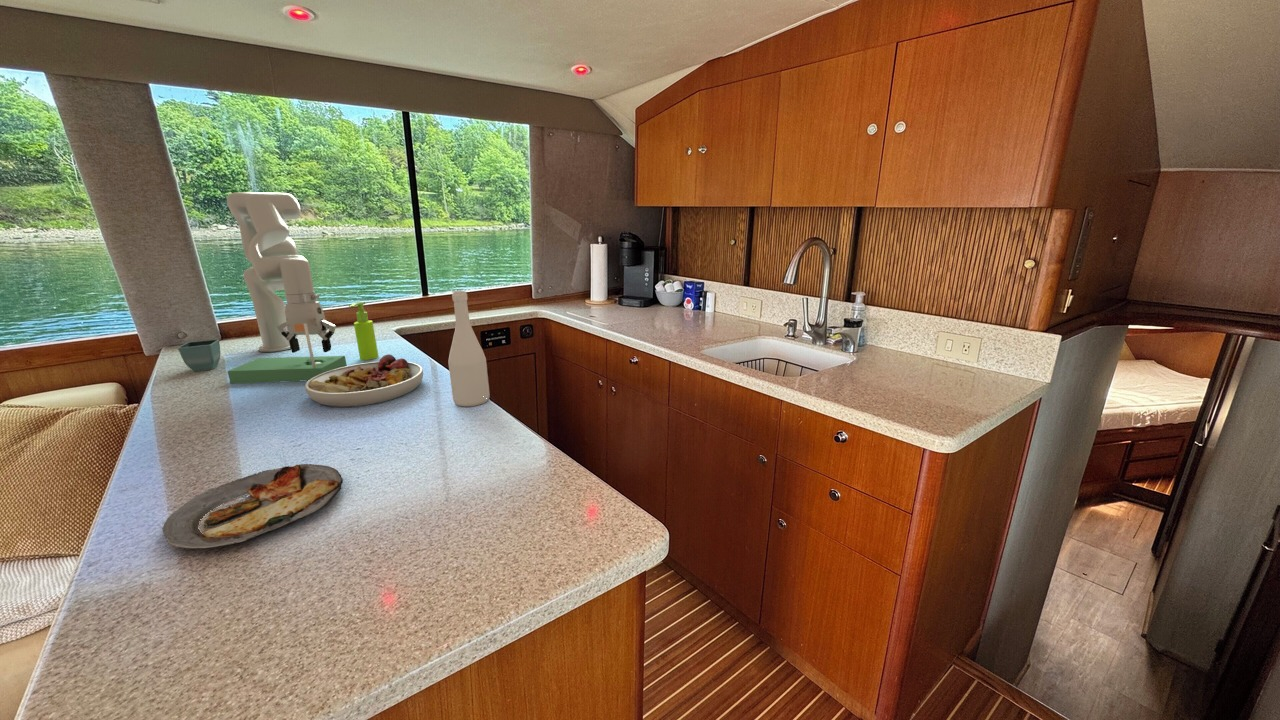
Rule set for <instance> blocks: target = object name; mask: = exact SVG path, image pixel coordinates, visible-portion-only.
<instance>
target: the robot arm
mask: <svg viewBox="0 0 1280 720" xmlns="http://www.w3.org/2000/svg"><path fill="white" fill-rule="evenodd" d="M226 203H227V206H228V210H229V211H230V212H231V214H232V216H233V218H234V219H235V221H237V224H238V226H239V232H240V236H241V242H242V248H243V252H244V256H245V258H246V260H247V261H248V262H250V263H251V265H252V266H251V267H248V268H246V269H245V270H244V271H243V279H244V283H245V285H246V287H247V289H248V292H249V294H250V298H251V301H252V304H253V308H254V313H255V317H256V321H257V325H258V326H257V327H258V330H259V334H260V337H261V342H262V345H260V346H259V347H258V351H259V352H262V353H273V352H274V353H275V352H281V351H286V350H291V353H297V352H299V351H300V350H301V347H300V344H299V339H298V336H302V335H303V336H306V334H305V331H299V332H295V328H294V324H307V328H308V333H309V336H311V335H315V336H317V335H318V336H319V337H320V338H321V339H322V340H321V346H322V351H323V352H324V353H327V352H330V351H331V350H332V343H331V338H332V337H333V335H334V334H335V331H336V329H337V325H335V324H333V323H332V322H329V321H327V318H326V316H325V312H324V309H323V307H322V305H321V303H320V301H317V300H319V299H320V295H319V294H316V292H315V287H314V282H313V279H312V274H311V265H310V262H309V259H308V260H307V258H305V257H304V255H300V254H299V252H298V248H297V245H296V242H295V241H294V240H293V239H292V238H291V237H290V236H289V235H290V230H289V227H288V225H287V223H286V221H285V220H298V219H299V218H300V216H301V214H302V213H301V212H302V211H301V205H300V203H299V202H298V199H297V198H296V197H295V196H294V195H293V194H291V193H287V192H286V193H284V192H256V191H248V192H247V191H237V192H231V193H230V194H227V197H226ZM276 291H277V292H278V291H284V295H285V299H286V303H285V302H284V300H283V299H282V297H280V296H278V295H277V294H276V293H274V292H276Z"/></svg>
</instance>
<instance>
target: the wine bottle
mask: <svg viewBox="0 0 1280 720" xmlns="http://www.w3.org/2000/svg"><path fill="white" fill-rule="evenodd" d="M451 298H452V302H453V305H454V306H453V307H454V318H455V329H454V333H453V337H452V342H451V346H450V350H449V354H448V355H449V356H448V362H447V363H448V371H449V378H450V379H449V380H450V387H451V394H452V400H453V403H454V405H457V406H458V407H470V408H471V407H476V406H479V405H483V404H485V403H487V402H488V401H489V400H490V396H491V395H490V384H489V376H488V365H487V358H486V356H485V352H484V350H483V348H482V346H481V345H480V342H479V340H478V337H477V336H476V334H475V331H474V329H473V327H472V324H471V321H470V315H469V308H468V300H469V299H468V293H467V292H466V290H465V291H464V290H456V291H453V292H452V294H451ZM483 396H484V397H483ZM486 398H487V399H488V400H487V399H486Z"/></svg>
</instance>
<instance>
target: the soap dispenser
mask: <svg viewBox="0 0 1280 720" xmlns="http://www.w3.org/2000/svg"><path fill="white" fill-rule="evenodd" d="M364 305H366V302H362V301H360V302H355V303H351V304H349V305H348V307H350V308H355V307H357V310H358V311H357V312H355V316H356V320H357V321H354V322H353V327H354V332H355V338H356V339H355V340H356V343H357V348H358V353H359V354H358V355H359V359H360V360H362V361H363V360H364V361H366V360H375V359H377V358H379V352H378V345H377V338H376V334H375V328H374V323H373V321H374V320H369V317H368V316H369V315H368V311H366V310H365V309H364Z"/></svg>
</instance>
